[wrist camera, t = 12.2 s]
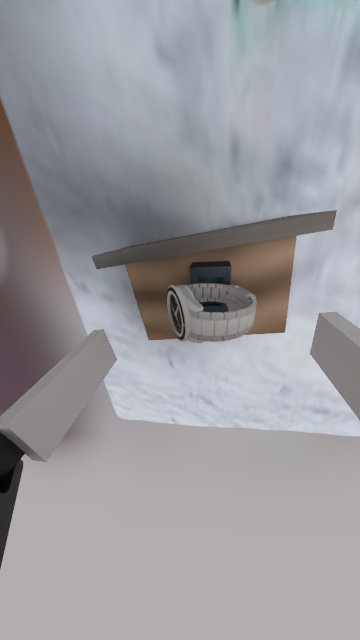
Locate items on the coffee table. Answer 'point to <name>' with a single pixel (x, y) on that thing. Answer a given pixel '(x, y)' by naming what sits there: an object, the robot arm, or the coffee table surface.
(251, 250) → the display stand
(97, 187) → the coffee table surface
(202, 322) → the watch
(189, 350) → the coffee table surface
